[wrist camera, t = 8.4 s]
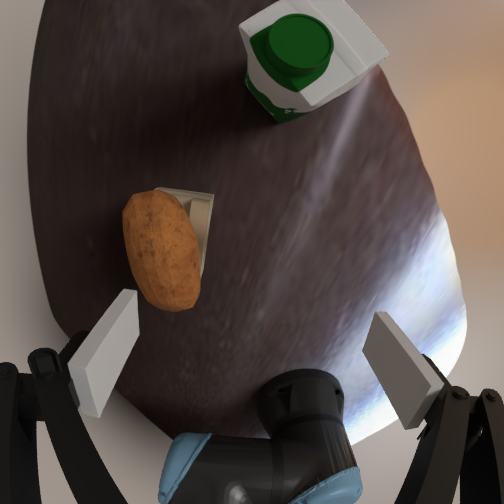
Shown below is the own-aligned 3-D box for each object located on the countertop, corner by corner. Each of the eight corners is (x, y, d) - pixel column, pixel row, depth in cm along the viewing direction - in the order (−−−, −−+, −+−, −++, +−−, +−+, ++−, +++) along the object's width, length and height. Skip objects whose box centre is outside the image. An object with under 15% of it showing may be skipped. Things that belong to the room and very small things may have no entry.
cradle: (203, 269, 40) (197, 290, 34) (152, 261, 39) (138, 280, 33) (214, 194, 37) (208, 203, 31) (159, 186, 36) (144, 194, 30)
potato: (195, 181, 30) (182, 189, 23) (210, 295, 34) (203, 329, 27) (130, 189, 30) (102, 200, 23) (150, 299, 34) (132, 331, 27)
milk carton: (232, 81, 33) (223, 11, 14) (289, 42, 31) (332, -42, 12) (277, 134, 35) (318, 115, 16) (333, 94, 33) (416, 51, 14)
